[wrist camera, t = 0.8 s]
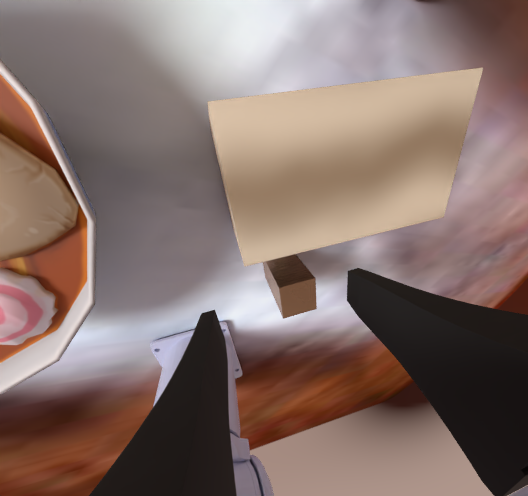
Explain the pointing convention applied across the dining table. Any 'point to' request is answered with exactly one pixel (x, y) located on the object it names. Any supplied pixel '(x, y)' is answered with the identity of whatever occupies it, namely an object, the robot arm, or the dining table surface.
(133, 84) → the dining table surface
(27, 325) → the ramen bowl
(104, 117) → the dining table surface
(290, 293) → the wood grain brick
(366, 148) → the tan slab
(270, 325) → the dining table surface
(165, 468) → the robot arm
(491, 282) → the dining table surface
